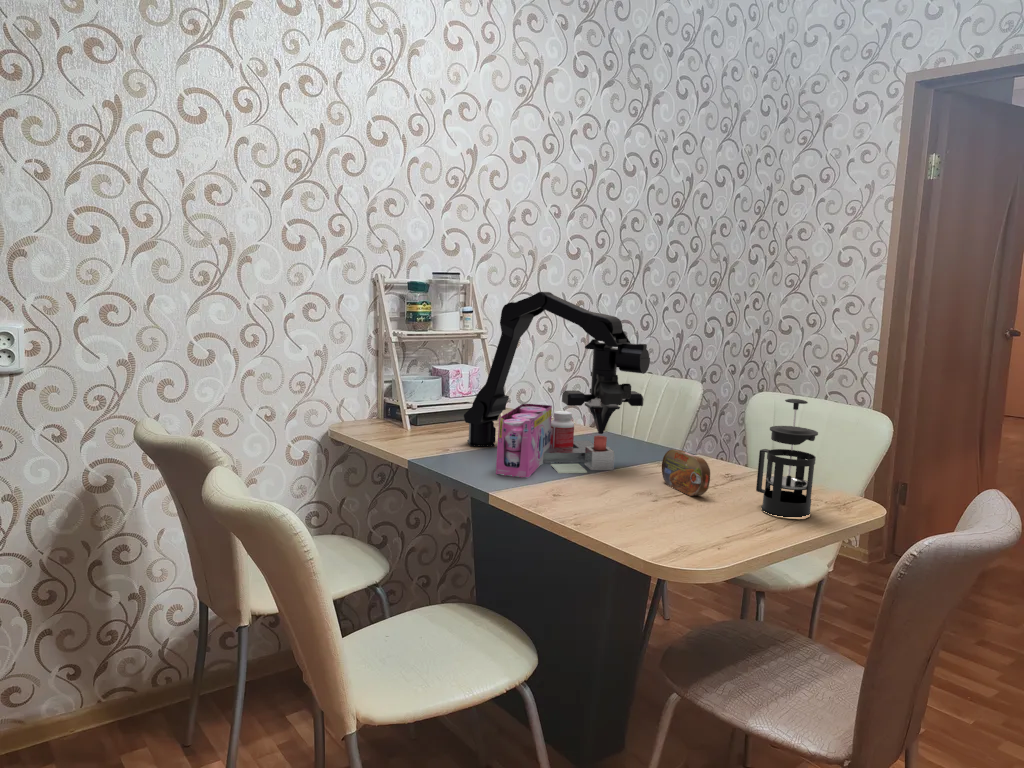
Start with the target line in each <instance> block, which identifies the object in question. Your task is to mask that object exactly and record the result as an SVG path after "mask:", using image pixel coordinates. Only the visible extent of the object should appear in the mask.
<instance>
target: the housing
mask: <svg viewBox="0 0 1024 768" xmlns="http://www.w3.org/2000/svg"><path fill="white" fill-rule="evenodd" d="M614 462H615V451H614V449H613V450H612V449H611V448H610V447H609V446H607V445H606V450H602V451H601V450H595V449H594V446H585V463H584V466H586V468H588V469H589V470H590V471H613V470H614V464H615V463H614Z"/></svg>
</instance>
